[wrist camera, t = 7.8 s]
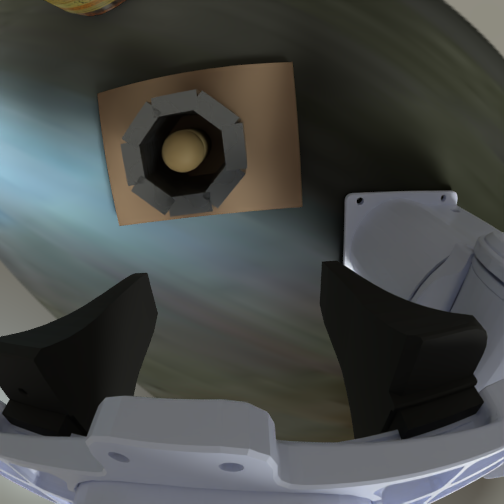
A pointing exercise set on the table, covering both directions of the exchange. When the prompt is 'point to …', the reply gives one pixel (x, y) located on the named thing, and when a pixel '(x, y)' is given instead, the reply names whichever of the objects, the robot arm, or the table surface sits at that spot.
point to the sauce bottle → (86, 6)
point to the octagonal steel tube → (172, 182)
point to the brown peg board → (214, 137)
